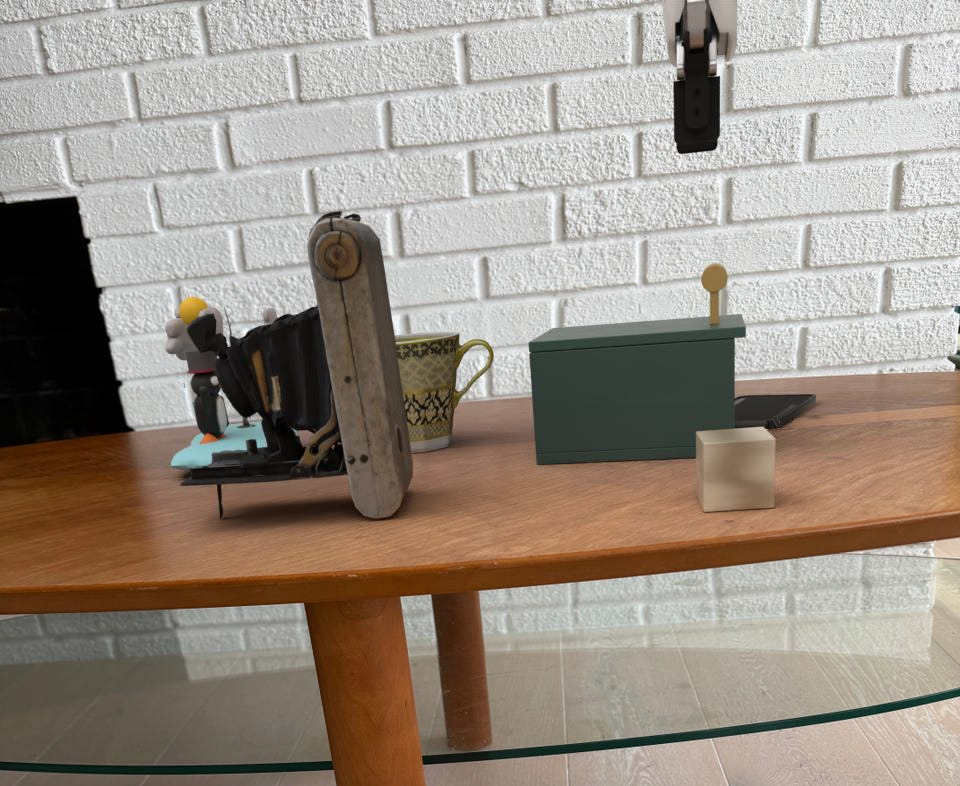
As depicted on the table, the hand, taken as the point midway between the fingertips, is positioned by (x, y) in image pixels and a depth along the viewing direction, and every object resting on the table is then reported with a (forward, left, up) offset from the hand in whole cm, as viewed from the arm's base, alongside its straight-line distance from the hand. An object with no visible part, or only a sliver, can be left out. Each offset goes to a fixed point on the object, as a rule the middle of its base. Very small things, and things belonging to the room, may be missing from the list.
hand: (696, 147), depth 76 cm
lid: (+5, -2, -14) cm, 15 cm away
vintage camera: (+30, +15, -23) cm, 41 cm away
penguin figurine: (+43, -9, -23) cm, 49 cm away
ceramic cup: (+24, -9, -23) cm, 34 cm away
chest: (+5, -2, -23) cm, 23 cm away
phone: (-7, -13, -23) cm, 27 cm away
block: (0, +20, -23) cm, 30 cm away
